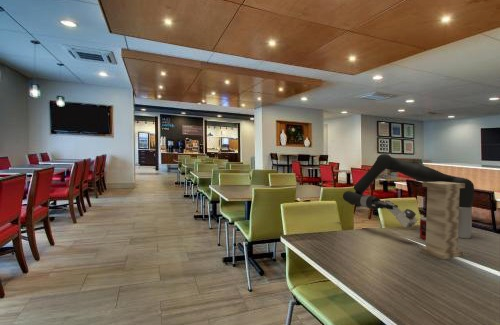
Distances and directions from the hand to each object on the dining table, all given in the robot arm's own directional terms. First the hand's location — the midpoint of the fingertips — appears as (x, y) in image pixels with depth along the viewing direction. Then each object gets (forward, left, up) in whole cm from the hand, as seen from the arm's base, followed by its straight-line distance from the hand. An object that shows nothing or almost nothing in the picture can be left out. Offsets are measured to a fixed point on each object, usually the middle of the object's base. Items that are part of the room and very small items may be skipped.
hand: (394, 207), depth 148 cm
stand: (0, +25, -17) cm, 30 cm away
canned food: (-17, +7, -17) cm, 25 cm away
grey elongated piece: (0, +1, -4) cm, 4 cm away
